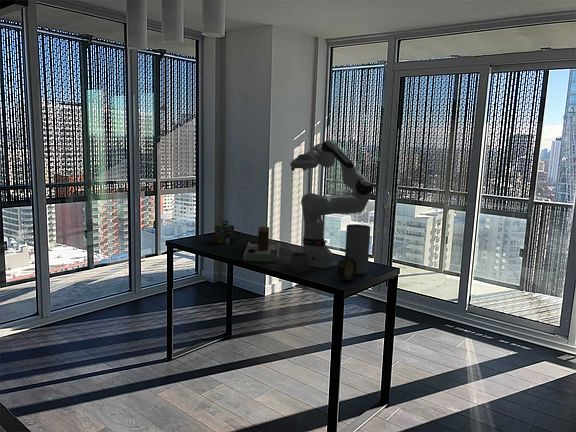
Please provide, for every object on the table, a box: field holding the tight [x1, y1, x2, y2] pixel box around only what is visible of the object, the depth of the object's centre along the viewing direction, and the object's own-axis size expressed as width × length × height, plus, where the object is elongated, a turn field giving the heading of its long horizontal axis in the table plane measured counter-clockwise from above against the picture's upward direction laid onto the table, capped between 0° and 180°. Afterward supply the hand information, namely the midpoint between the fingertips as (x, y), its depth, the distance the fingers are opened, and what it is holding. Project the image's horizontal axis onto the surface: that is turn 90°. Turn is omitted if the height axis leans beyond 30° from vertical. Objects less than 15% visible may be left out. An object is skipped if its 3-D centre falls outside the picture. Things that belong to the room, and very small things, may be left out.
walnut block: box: [257, 226, 270, 251], centre depth 302 cm, size 14×6×12 cm, turn 0°
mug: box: [290, 252, 312, 275], centre depth 256 cm, size 12×9×10 cm
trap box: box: [242, 241, 281, 263], centre depth 294 cm, size 36×20×4 cm, turn 0°
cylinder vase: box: [344, 223, 371, 275], centre depth 261 cm, size 12×12×25 cm
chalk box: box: [214, 219, 235, 245], centre depth 320 cm, size 9×9×15 cm
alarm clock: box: [336, 250, 356, 284], centre depth 243 cm, size 11×5×16 cm, turn 138°
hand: (297, 169), depth 306 cm, fingers open, 8 cm apart
